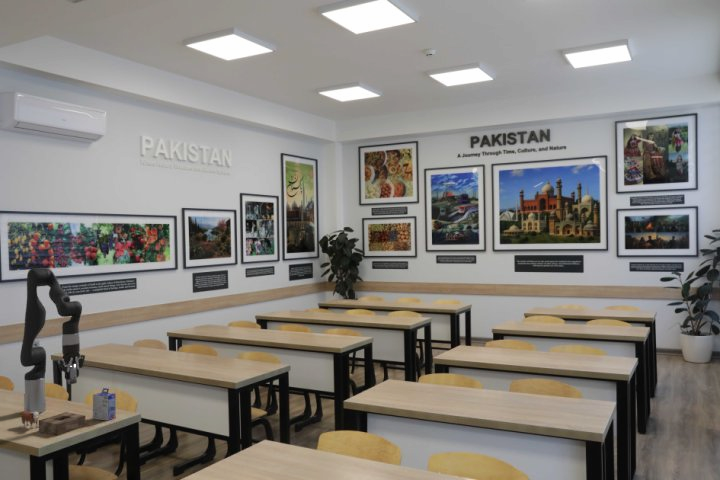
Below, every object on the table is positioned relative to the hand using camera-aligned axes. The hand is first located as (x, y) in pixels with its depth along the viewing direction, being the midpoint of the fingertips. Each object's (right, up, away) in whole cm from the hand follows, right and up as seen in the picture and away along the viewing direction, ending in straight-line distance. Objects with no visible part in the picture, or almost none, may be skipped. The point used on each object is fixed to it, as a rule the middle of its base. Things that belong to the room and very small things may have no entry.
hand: (71, 378), depth 275 cm
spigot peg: (0, -2, 0) cm, 2 cm away
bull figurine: (-17, -22, -5) cm, 28 cm away
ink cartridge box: (+13, -22, +7) cm, 26 cm away
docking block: (0, -22, -8) cm, 23 cm away
